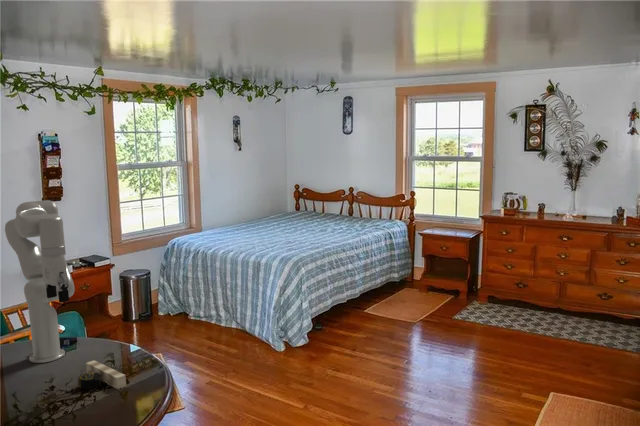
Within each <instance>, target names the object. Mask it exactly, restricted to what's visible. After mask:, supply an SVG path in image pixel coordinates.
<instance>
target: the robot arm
mask: <svg viewBox="0 0 640 426" xmlns="http://www.w3.org/2000/svg"><path fill="white" fill-rule="evenodd" d="M64 231H65V230H64V221H63V218H62V217H61V216H60V215H59V210H58V207H57V204H56V203H55V202H54V201H53V200H49V199H46V200H33V201H26V202H25V201H24V202H22V203H20V204H18V206H17V207H16V209H15V217H14V218H12V219H10V220H8V221H7V222H6V223H5V225H4V232H5V237H6V240H7V242H8V244H9V246H10V247H11V248H12V250H13V251H14V252H15V254H16V256H17V258H18V261H19V262H18V263H19V265H20V268H21V272H22V274H23V276H24V278H25V279H26V280H27V282H26V284H25V285H24V287H23V292H24V297H25V302H26V304H27V310H28V315H29V316H28V317H29V324H30V334H31V343H32V353H33V354H31V355H29V357H28V360H29V362H31V363H33V364H42V363H49V362H53V361H56V360H59V359H60V358H63V357H64V356H65V355H66V351H65V350H64V349H63V348H61V345H60V344H61V343H60V333H59V332H60V331H59V324H58V323H59V322H58V313H57V310H56V309H55V308H54V306H52V305H51V304H49V303H50V302H53V301H58V302H59V304H60V303H61V304H62V303H65V302H69V301H70V298H72V296H73V295H74V294H75V289H76V288H75V283H74V280H73V278H72V277H73V276H72V274H71V271H70V269H69V266H68V263H67V261H66V259H65V256H66V244H65V243H66V242H65V232H64ZM38 237H39V242H40V246H39V245H38V244H37V243H35V242H34V241H32V240H30V239H29V238H38Z"/></svg>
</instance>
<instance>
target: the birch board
mask: <svg viewBox="0 0 640 426" xmlns="http://www.w3.org/2000/svg"><path fill="white" fill-rule="evenodd" d="M85 365H86V374H88V373H96V372H97V373H98V374H99V376H100V377H99V379H100V382H103V383H104V382H105V383H104V384H106V383H107V385H109V386H110V387H113V388H114V389H116V390H120V388H121V389H123V388H126V387H127V378H126V374H124V373H122V372H120V371H118V370H116V369H113V368H112V367H110V366H107V365H105V364H103V363H101V362H99V361H97V360H94V359H93V360H91V361H87V362H86V363H85Z"/></svg>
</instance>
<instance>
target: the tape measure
mask: <svg viewBox="0 0 640 426" xmlns="http://www.w3.org/2000/svg"><path fill="white" fill-rule="evenodd" d="M99 377H100V376H99V374H98V373H97V372H96V373H88V374H87V373H85V374H82V375H80V376H79V377H78V380H77V383H78V386H79V388H80V389H82V390H89V389H92V388H95V387H99V386H100V385H101V380H100V379H99Z"/></svg>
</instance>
